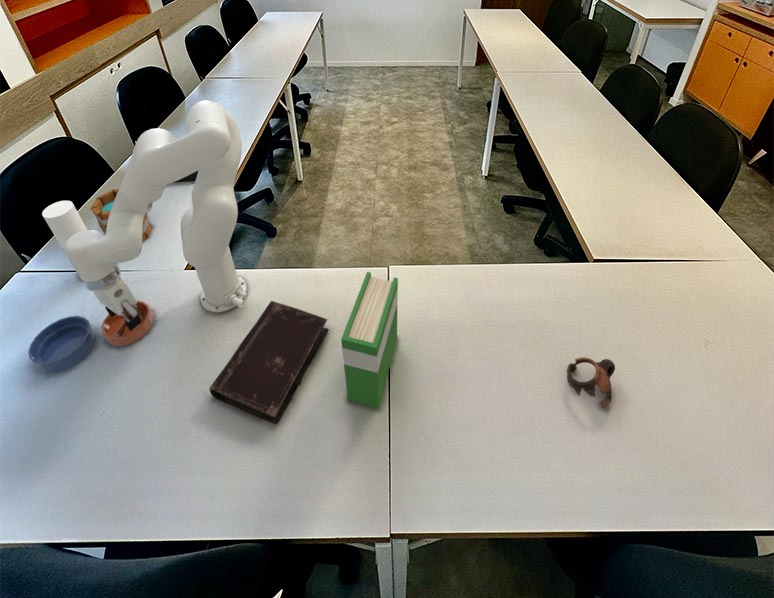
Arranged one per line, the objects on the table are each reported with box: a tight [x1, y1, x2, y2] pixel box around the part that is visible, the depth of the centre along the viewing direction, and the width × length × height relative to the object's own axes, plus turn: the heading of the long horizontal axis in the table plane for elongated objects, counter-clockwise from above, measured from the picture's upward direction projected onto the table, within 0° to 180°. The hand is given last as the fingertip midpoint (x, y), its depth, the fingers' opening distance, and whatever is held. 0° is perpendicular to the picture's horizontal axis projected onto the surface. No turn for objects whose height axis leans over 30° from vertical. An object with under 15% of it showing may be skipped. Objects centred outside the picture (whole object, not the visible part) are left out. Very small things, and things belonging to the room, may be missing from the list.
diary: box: [209, 300, 330, 425], centre depth 104 cm, size 19×25×5 cm
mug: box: [89, 188, 153, 243], centre depth 141 cm, size 20×14×15 cm
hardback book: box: [340, 271, 399, 409], centre depth 98 cm, size 18×7×24 cm, turn 165°
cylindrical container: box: [41, 200, 88, 278], centre depth 124 cm, size 7×7×25 cm
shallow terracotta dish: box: [100, 300, 155, 347], centre depth 114 cm, size 11×11×3 cm
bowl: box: [27, 315, 97, 374], centre depth 108 cm, size 13×13×4 cm
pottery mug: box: [566, 357, 616, 409], centre depth 100 cm, size 12×10×8 cm
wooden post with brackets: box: [114, 305, 143, 337], centre depth 114 cm, size 2×8×4 cm, turn 159°
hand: (125, 319), depth 113 cm, fingers open, 7 cm apart
